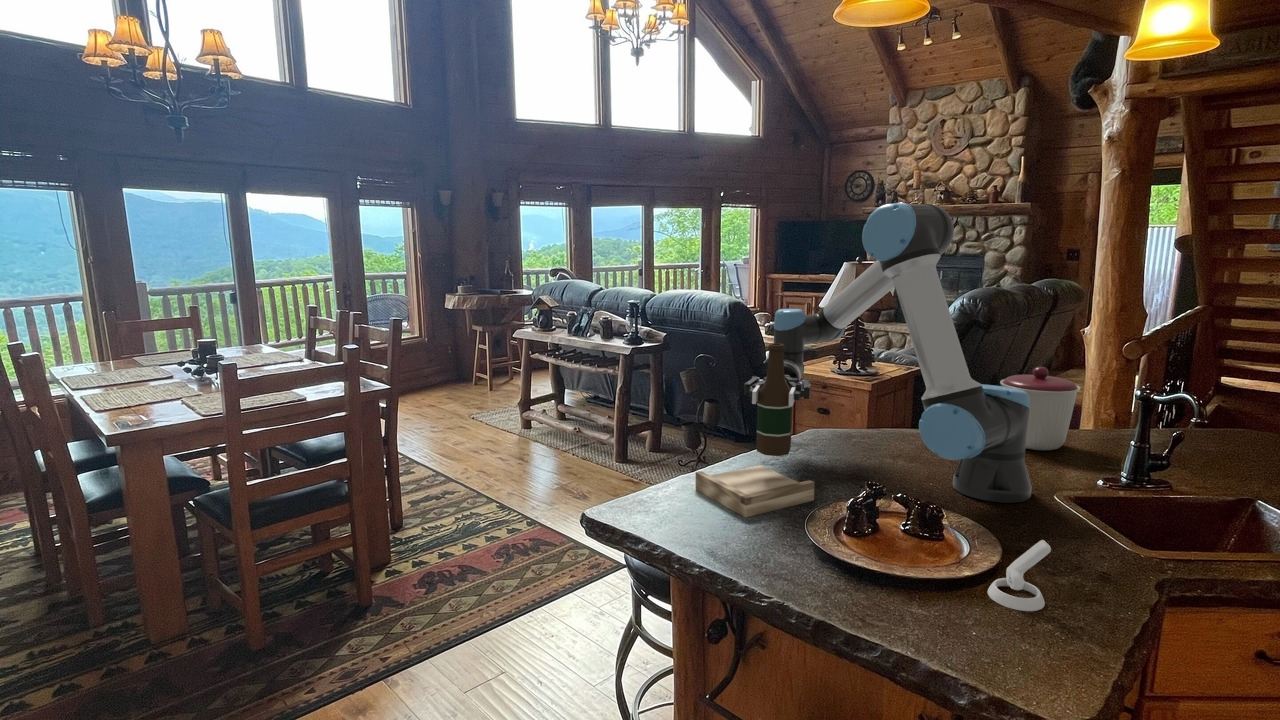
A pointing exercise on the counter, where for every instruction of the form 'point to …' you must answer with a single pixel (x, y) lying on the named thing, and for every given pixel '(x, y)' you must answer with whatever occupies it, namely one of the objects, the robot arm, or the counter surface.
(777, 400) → the beer bottle
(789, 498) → the wooden tray
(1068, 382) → the canister
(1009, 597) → the white ring with handle
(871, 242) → the robot arm
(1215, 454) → the counter surface
